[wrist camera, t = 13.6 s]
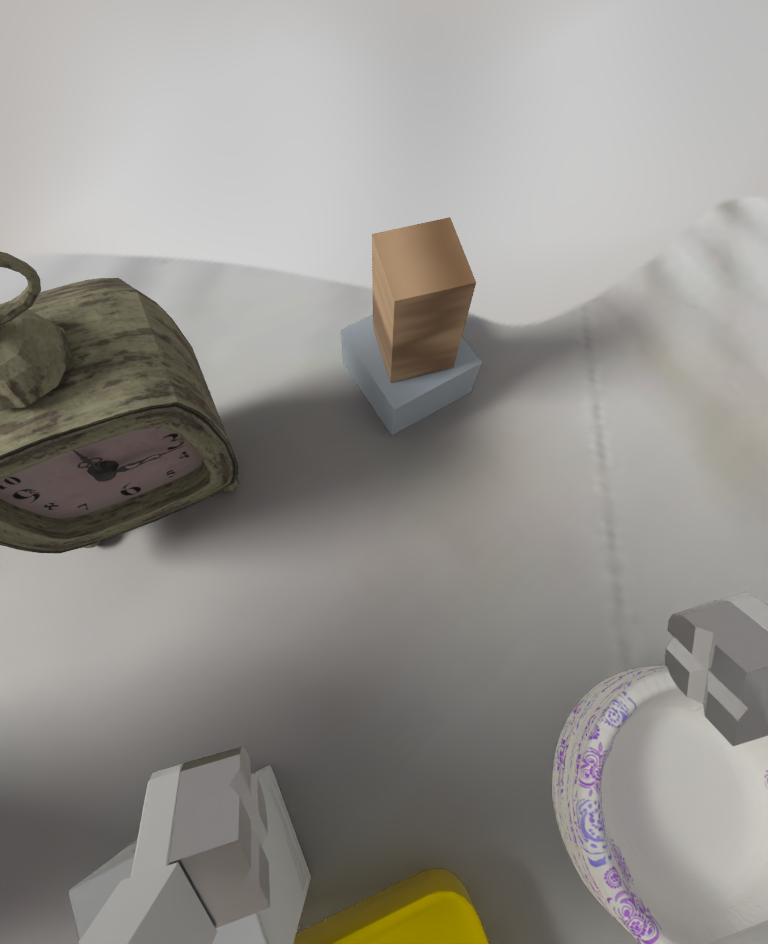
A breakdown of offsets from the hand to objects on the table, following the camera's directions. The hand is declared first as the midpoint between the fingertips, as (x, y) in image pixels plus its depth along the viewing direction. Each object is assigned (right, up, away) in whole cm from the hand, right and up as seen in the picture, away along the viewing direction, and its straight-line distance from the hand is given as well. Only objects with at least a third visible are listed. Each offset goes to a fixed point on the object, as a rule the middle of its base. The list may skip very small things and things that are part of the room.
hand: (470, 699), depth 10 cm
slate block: (0, +12, +37) cm, 39 cm away
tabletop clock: (-20, +3, +33) cm, 39 cm away
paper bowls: (+16, -17, +27) cm, 36 cm away
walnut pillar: (+1, +14, +32) cm, 35 cm away
